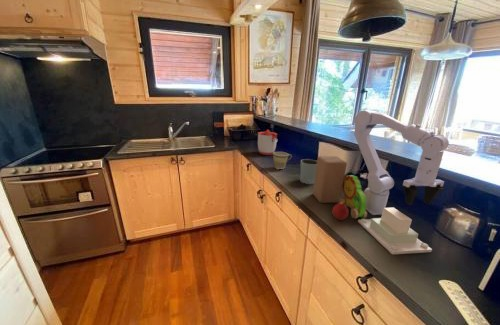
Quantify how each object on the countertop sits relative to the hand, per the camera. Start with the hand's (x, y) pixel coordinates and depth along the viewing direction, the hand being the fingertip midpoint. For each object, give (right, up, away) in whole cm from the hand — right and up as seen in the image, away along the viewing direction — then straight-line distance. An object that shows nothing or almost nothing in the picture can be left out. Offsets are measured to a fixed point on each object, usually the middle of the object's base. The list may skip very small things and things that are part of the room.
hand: (417, 203), depth 79 cm
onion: (-27, -8, +6) cm, 29 cm away
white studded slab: (-12, -11, -3) cm, 16 cm away
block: (-26, -2, +23) cm, 35 cm away
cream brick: (-12, -7, -4) cm, 14 cm away
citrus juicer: (-49, +22, +96) cm, 110 cm away
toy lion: (-19, -6, +14) cm, 24 cm away
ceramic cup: (-41, +12, +63) cm, 77 cm away
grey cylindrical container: (-30, +4, +43) cm, 52 cm away
